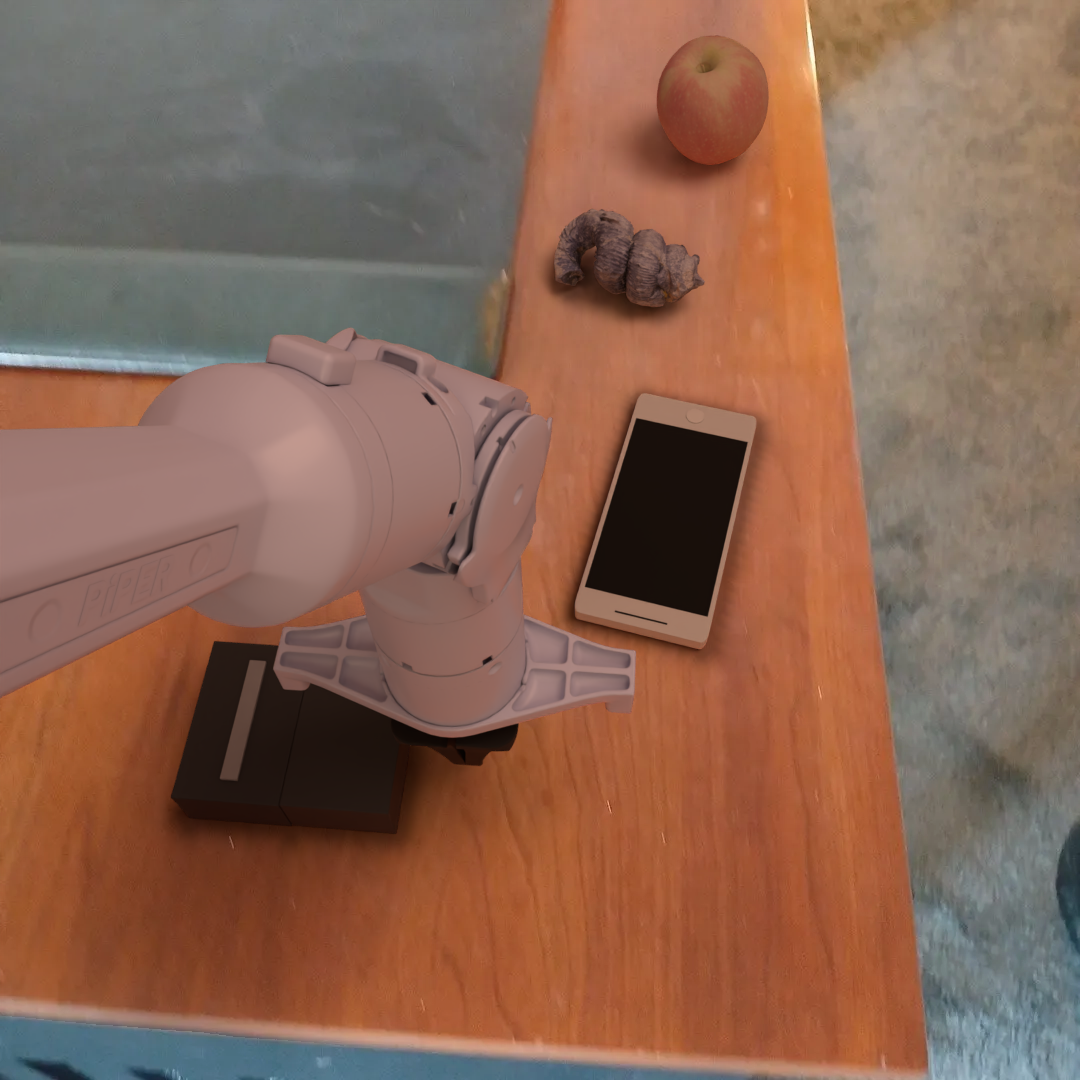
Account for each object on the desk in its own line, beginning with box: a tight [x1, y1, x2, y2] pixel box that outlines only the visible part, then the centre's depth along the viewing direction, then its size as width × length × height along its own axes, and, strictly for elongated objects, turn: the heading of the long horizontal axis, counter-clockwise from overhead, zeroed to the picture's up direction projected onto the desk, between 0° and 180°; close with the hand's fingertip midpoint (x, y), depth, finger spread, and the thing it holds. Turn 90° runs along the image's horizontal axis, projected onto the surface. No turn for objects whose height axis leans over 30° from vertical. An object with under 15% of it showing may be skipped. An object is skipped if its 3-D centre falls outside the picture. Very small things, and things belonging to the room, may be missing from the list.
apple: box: [656, 34, 770, 166], centre depth 73 cm, size 8×8×8 cm
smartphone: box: [574, 392, 757, 650], centre depth 59 cm, size 7×15×1 cm, turn 164°
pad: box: [279, 683, 411, 835], centre depth 51 cm, size 8×5×3 cm, turn 175°
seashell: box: [553, 208, 706, 308], centre depth 67 cm, size 5×5×10 cm
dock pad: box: [170, 640, 304, 827], centre depth 51 cm, size 8×5×3 cm, turn 175°
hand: (470, 745), depth 50 cm, fingers closed
